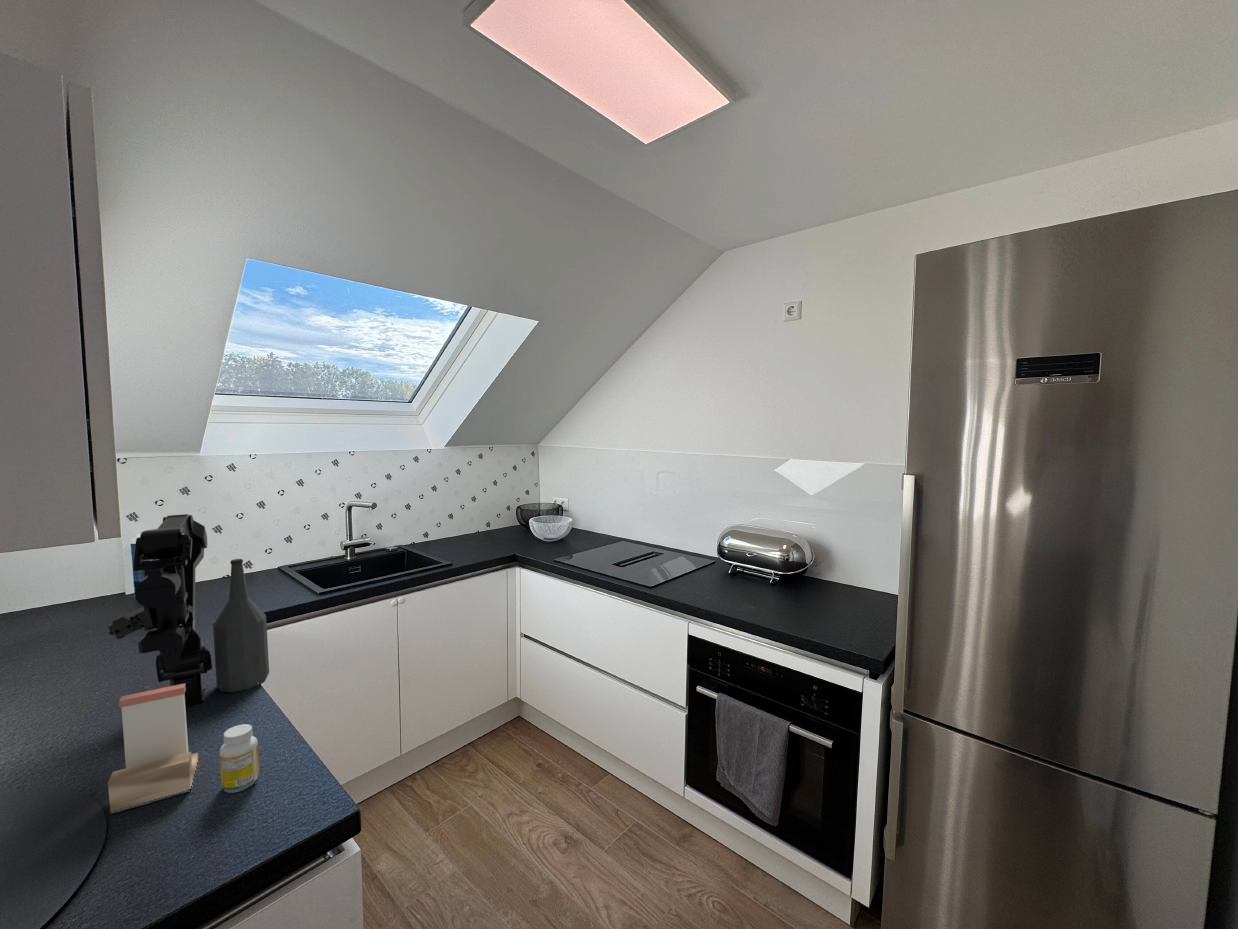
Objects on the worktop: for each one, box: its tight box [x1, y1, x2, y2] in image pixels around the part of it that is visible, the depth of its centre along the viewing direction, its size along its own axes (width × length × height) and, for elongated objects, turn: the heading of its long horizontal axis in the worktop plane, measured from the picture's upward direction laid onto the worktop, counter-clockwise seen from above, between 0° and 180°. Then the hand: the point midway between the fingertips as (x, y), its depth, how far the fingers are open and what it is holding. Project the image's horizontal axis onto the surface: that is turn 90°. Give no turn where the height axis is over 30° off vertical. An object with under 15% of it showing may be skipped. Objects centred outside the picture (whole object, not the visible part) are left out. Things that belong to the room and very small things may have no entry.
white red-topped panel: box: [118, 683, 189, 769], centre depth 92 cm, size 2×8×14 cm, turn 122°
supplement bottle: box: [219, 723, 260, 790], centre depth 92 cm, size 5×5×10 cm
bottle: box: [212, 558, 270, 693], centre depth 126 cm, size 10×10×30 cm
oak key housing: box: [107, 751, 199, 812], centre depth 91 cm, size 10×10×6 cm
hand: (172, 669), depth 106 cm, fingers closed
